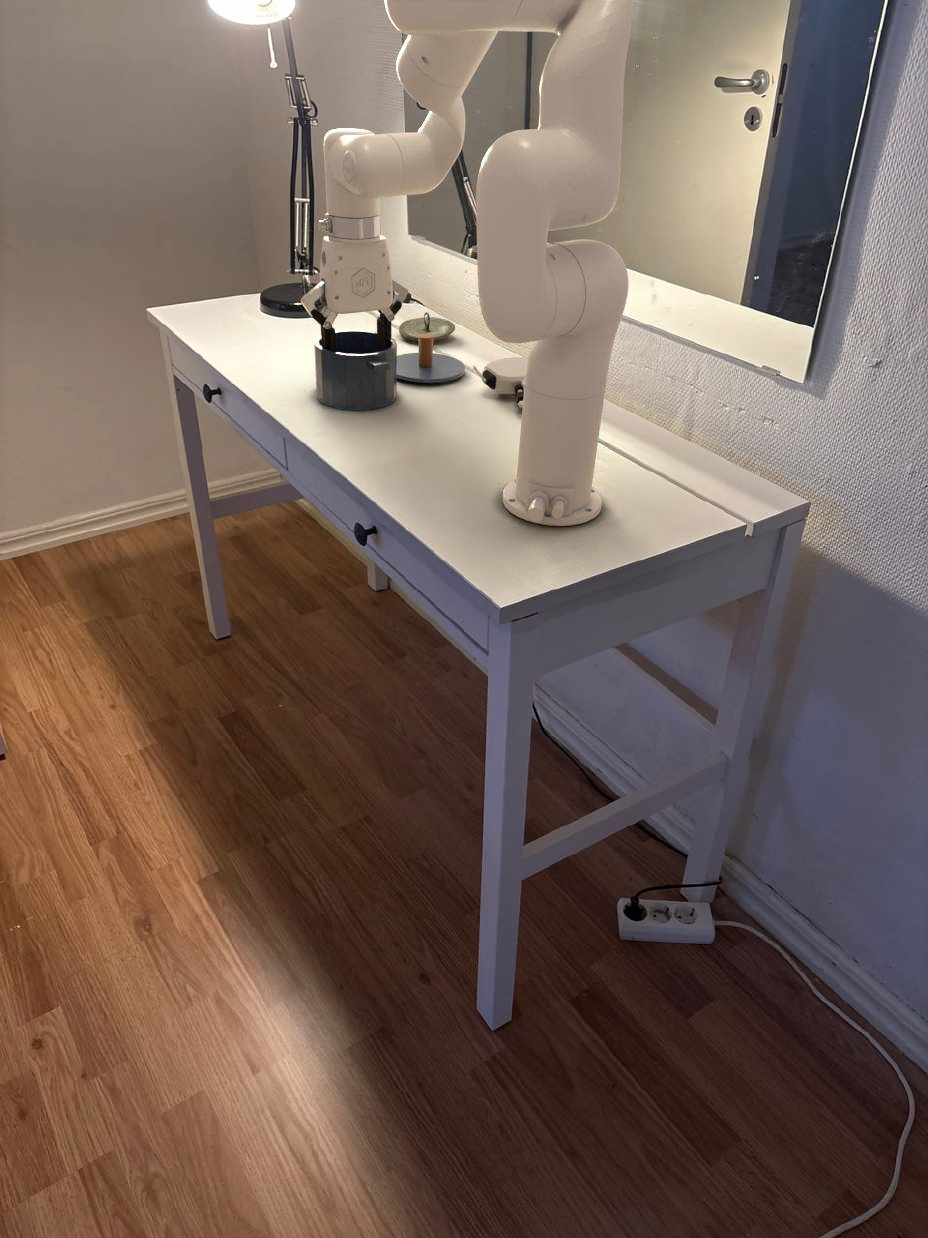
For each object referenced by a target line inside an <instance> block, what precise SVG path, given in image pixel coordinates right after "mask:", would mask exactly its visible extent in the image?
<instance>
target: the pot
mask: <svg viewBox="0 0 928 1238" xmlns="http://www.w3.org/2000/svg"><path fill="white" fill-rule="evenodd" d="M335 333H336V352H333V351H330V350H327V349H324V348H323V347H322V344H321V335H318V336H317V337H316V338H315V339H314V342H313V343H314V344H313V345H314V346H313V347H314V348H313V349H314V366H315V368H314V369H315V370H314V371H315V372H314V373H315V392H316V398H317V400H318V401H319V402H320V403H321V404H323V405H325V406H328V407H330V408H333V409H337V410H344V411H371V410H376V409H378V410H379V409H381V408H385V407H387V406H389V405H391V404H393V403H394V402H395V401H396V399H397V393H398V392H397V388H398V387H397V386H398V385H397V384H398V383H397V382H398V380H397V379H398V378H397V356H398V344H397V341H396V339H394V338H393V337H392V338H391V340H390V347H389V348H384V347H383V346H381V345H380V344H378V343H377V331H371V330H364V329H362V330H361V329H345V330H339V329H335Z"/></svg>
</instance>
